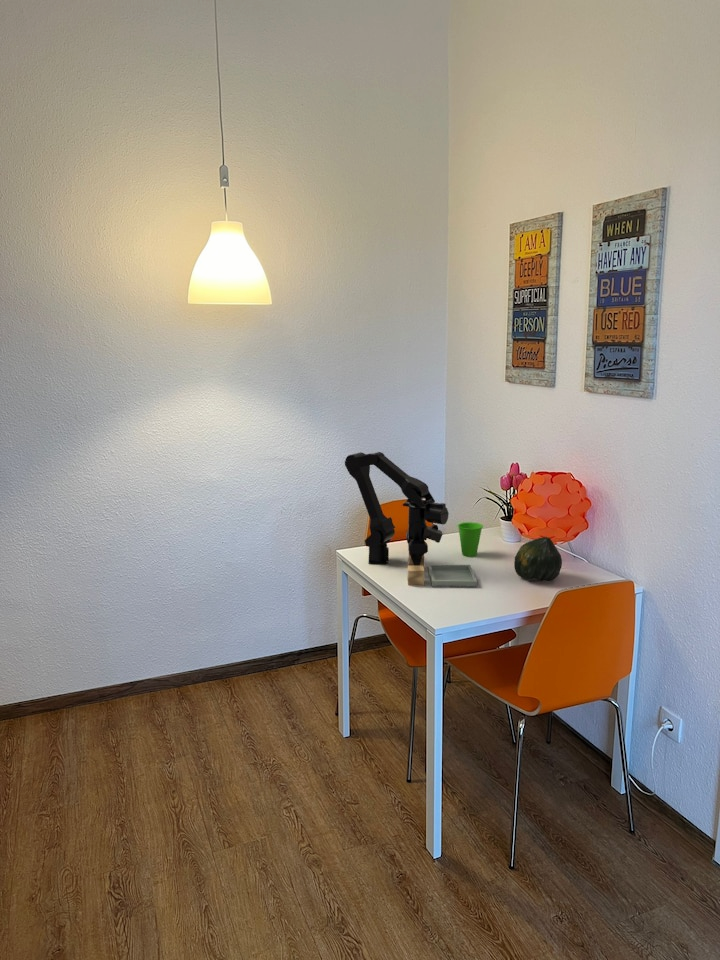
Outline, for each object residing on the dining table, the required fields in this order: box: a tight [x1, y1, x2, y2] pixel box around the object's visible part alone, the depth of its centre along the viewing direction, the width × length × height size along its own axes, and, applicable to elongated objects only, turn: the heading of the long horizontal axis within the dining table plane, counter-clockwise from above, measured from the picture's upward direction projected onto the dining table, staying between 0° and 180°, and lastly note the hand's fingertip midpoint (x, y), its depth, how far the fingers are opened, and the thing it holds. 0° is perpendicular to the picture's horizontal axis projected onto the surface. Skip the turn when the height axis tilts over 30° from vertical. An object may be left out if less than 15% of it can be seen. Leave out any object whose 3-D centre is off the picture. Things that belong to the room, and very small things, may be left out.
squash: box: [513, 536, 563, 582], centre depth 225 cm, size 14×15×15 cm
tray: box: [427, 564, 478, 588], centre depth 226 cm, size 14×16×2 cm
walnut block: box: [408, 553, 425, 568], centre depth 235 cm, size 5×5×5 cm
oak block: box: [406, 565, 425, 587], centre depth 222 cm, size 5×5×5 cm
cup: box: [457, 521, 484, 558], centre depth 250 cm, size 9×9×11 cm
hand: (416, 564), depth 235 cm, fingers open, 9 cm apart
